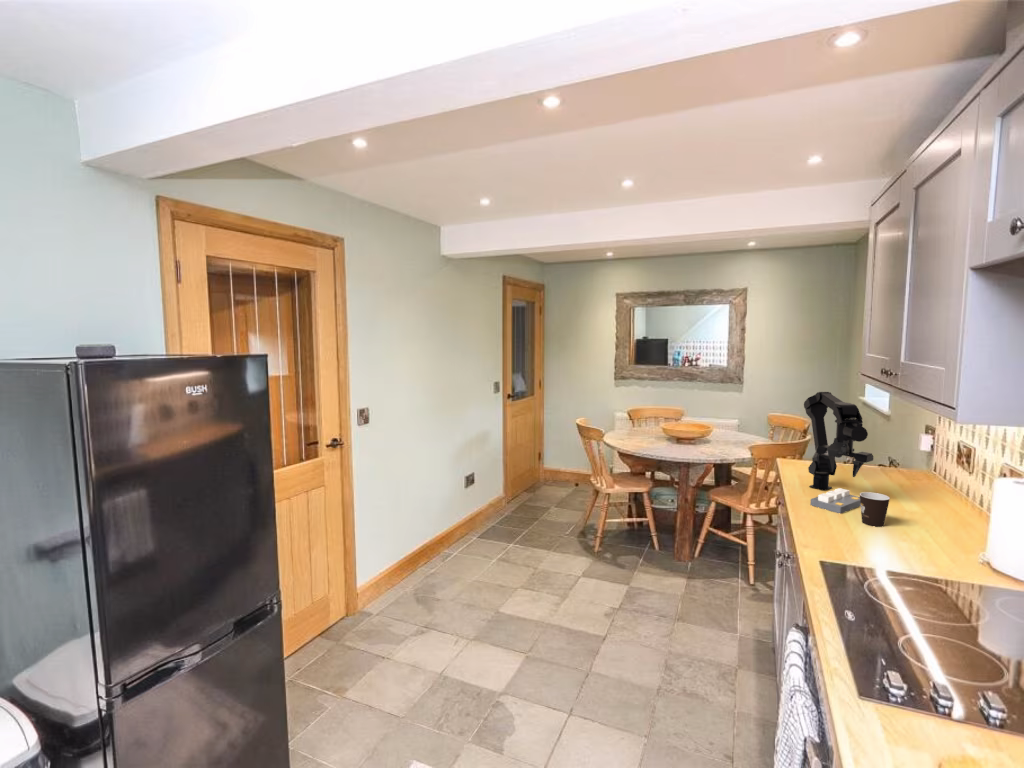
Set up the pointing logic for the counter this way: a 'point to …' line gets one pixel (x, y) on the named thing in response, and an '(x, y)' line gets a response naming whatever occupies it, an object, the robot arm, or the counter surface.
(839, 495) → the middle key
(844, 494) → the key
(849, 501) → the keyguard plate
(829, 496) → the key
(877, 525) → the coffee mug
